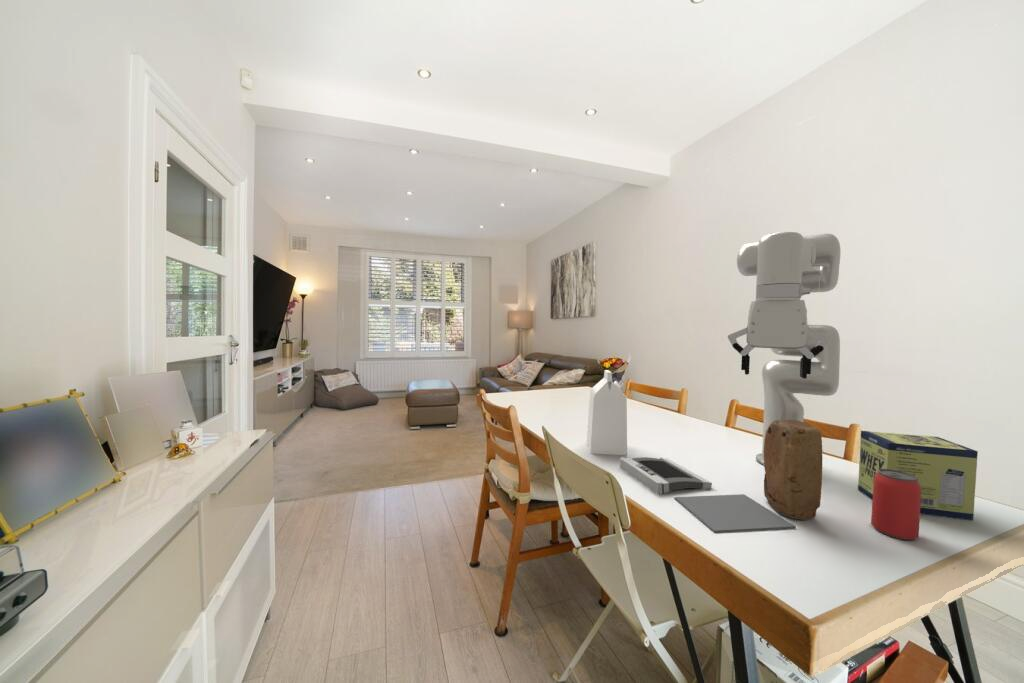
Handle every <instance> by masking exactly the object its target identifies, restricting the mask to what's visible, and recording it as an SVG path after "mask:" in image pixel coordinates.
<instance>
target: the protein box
mask: <svg viewBox="0 0 1024 683" xmlns="http://www.w3.org/2000/svg"><path fill="white" fill-rule="evenodd" d="M859 444H860V445H859V463H858V485H857V490H858V491H859V492H861V493H862V494H863V495H864V496H866V497H868V498H869V499H871V500H872V501H873V484H874V478H875V475H876V474H877V473H878V470H879V469H892V470H898V471H902V472H906V473H909V474H912V475H914V476H916V477H917V478H918V482H919V484H920V487H921V507H920V515H928V516H934V517H935V516H936V517H941V518H942V517H944V518H950V519H956V520H957V519H958V520H963V521H965V520H966V521H974V515H975V514H974V513H975V512H974V511H975V499H976V498H975V496H976V485H977V484H976V483H977V482H976V481H977V466H978V455H979V454H978V452H979V451H978V450H975V449H972V448H970V447H967V446H964V445H962V444H958V443H956V442H953V441H950V440H948V439H945V438H941V437H939V436H930V435H917V434H907V433H906V434H904V433H895V432H893V433H892V432H891V433H890V432H880V431H868V430H861V431H860V442H859Z"/></svg>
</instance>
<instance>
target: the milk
mask: <svg viewBox="0 0 1024 683" xmlns="http://www.w3.org/2000/svg"><path fill="white" fill-rule="evenodd" d="M621 388H622V386H621V385H620V384H619V382H618V381H617V380H615V381H614V382H613V374H612V371H610V369H605V370H604V373H603V378H602V379H600V380H599V381H598V382H597V383H596V384H595V385H594V386H593V387H592V388H591V389H590V391H589V400H588V416H587V430H586V443H587V444H586V445H587V447H588V450H589V453H590V454H597V455H598V454H599V455H616V456H617V455H619V456H628V412H627V411H628V408H627V406H628V404H627V403H628V400H627V395H626V394H625V392H623V391H622V390H621Z"/></svg>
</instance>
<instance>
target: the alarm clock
mask: <svg viewBox="0 0 1024 683" xmlns="http://www.w3.org/2000/svg"><path fill="white" fill-rule="evenodd" d="M619 467H620V469H622V470H623V471H624V472H626V473H627V474H629V475H630V476H632V478H634V479H635V480H637V481H638V482H640V483H642V485H643V486H645V487H647V488H648V489H649V488H650V489H649V490H650V491H652V490H653V491H652V492H653V493H655V494H656V493H657V494H656V495H658V494H659V495H663V493H664V494H666V493H670V491H676V490H677V491H678V490H682V489H701V488H702V490H709V488H711V489H712V485H713V483H712V482H711V481H709V480H707V479H706V478H704V477H702V476H700V475H698V474H696V473H694V472H693V471H691V470H689V469H687V468H686V467H683V466H682V465H679V463H676V462H675V461H673V460H671V459H669V458H666V457H659V458H657V457H647V456H646V457H633V458H631V457H628V458H625V457H623V456H622V457H619Z"/></svg>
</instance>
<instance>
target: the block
mask: <svg viewBox="0 0 1024 683" xmlns="http://www.w3.org/2000/svg"><path fill="white" fill-rule="evenodd" d="M822 438H823V437H822V432H821V430H820V429H819V428H817V427H815V426H813V425H811V424H809V423H807V422H804V421H803V422H800V421H796V420H775V421H773V422H772V423H771V424H770V425H769V427H768V429H767V430H766V434H765V440H764V465H763V467H764V471H765V472H764V478H763V479H764V480H763V494H764V497H765V498H766V501H767V502H768V504H769V505H770V506H771V507H772V508H773V509H774V510H775V511H777V513H779V514H781V515H783V516H786V517H788V518H791V519H795V520H801V521H802V520H803V521H807V520H808V521H809V520H810V519H811V518H812V519H813V518H815V517H816V515H817V510H818V509H819V508H820V506H821V498H822V488H823V440H822Z"/></svg>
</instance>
